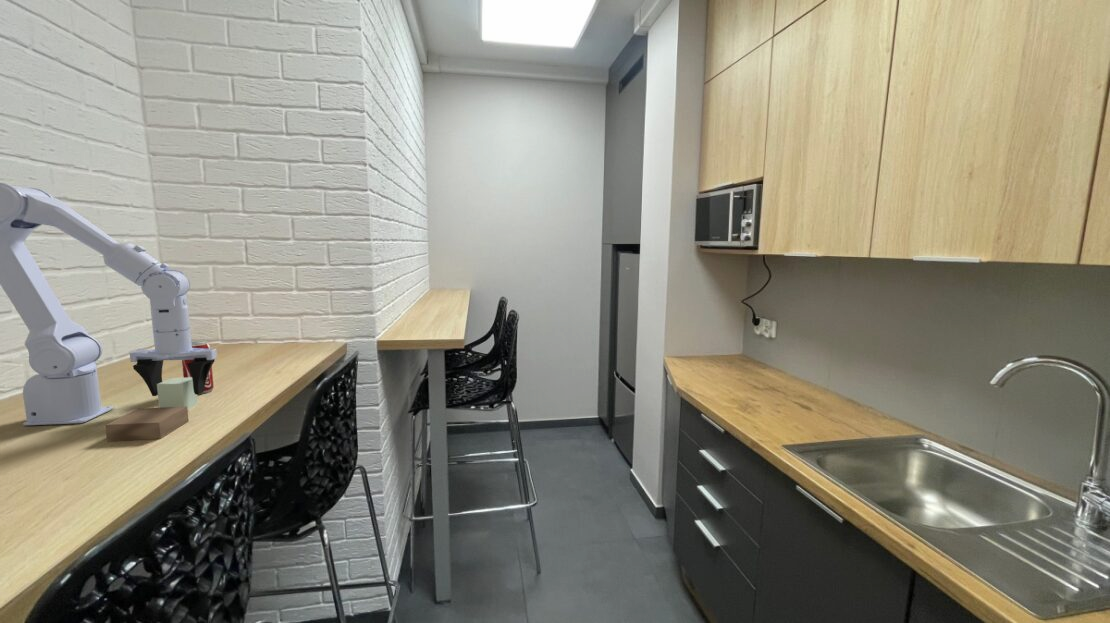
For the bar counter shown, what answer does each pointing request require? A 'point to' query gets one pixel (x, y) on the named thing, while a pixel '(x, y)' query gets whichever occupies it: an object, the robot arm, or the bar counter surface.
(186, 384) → the sage block
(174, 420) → the base block
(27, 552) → the bar counter surface
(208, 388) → the soda can
